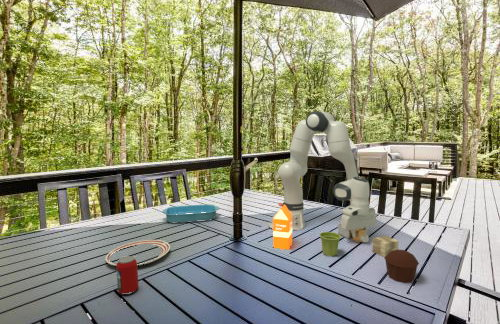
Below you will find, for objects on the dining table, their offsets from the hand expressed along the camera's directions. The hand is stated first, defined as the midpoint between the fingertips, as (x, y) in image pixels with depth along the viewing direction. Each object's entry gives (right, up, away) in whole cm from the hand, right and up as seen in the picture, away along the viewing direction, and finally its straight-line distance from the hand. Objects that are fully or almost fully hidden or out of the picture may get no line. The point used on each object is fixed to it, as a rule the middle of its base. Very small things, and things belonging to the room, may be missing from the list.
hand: (358, 235), depth 142 cm
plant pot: (-19, -5, -14) cm, 24 cm away
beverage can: (-99, -9, -42) cm, 108 cm away
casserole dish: (-94, -1, +44) cm, 104 cm away
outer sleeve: (-3, -2, +7) cm, 8 cm away
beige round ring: (-106, -6, -14) cm, 107 cm away
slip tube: (-2, -2, +5) cm, 5 cm away
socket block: (+6, -4, -15) cm, 17 cm away
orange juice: (-39, -4, -4) cm, 40 cm away
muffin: (+2, -6, -36) cm, 36 cm away
